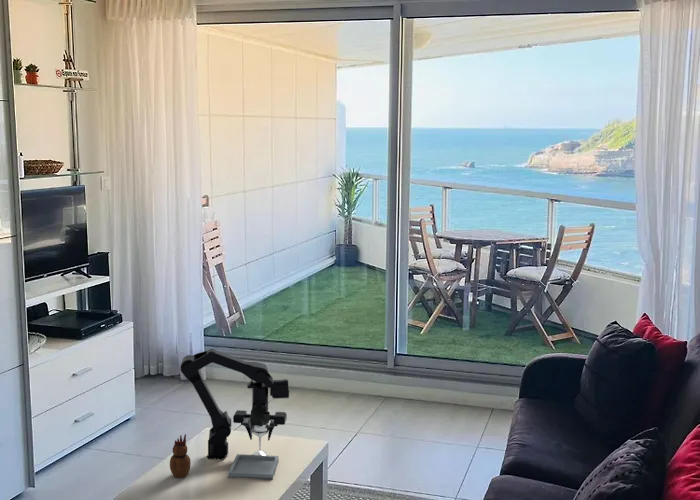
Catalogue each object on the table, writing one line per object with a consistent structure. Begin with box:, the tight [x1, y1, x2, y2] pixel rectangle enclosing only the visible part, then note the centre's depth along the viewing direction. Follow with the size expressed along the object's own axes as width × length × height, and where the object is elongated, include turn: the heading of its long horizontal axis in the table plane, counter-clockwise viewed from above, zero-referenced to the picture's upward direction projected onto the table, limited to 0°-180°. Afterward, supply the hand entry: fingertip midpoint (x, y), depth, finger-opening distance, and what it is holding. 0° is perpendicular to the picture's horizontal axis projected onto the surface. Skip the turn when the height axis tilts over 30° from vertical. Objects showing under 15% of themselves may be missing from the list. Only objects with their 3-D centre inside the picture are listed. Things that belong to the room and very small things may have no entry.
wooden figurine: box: [169, 433, 191, 479], centre depth 259 cm, size 7×6×15 cm
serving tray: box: [227, 453, 280, 480], centre depth 266 cm, size 15×15×2 cm
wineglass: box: [251, 421, 270, 455], centre depth 278 cm, size 7×7×12 cm
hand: (260, 439), depth 278 cm, fingers closed on wineglass, 6 cm apart
